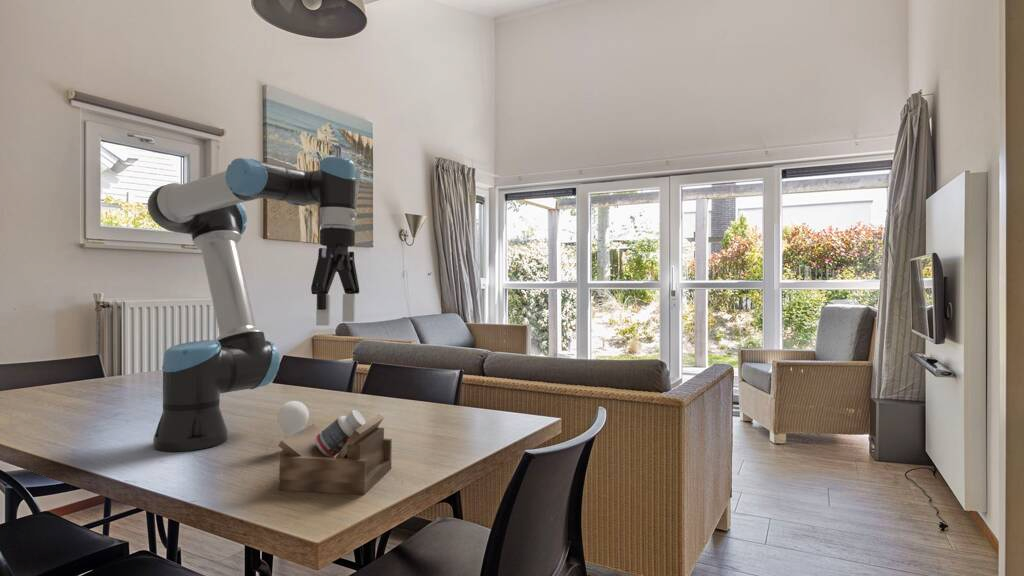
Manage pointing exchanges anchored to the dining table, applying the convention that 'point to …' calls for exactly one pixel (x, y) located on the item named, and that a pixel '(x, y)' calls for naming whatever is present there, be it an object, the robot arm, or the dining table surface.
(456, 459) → the dining table surface
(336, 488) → the wooden box with flaps
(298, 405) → the light bulb
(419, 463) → the dining table surface
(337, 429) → the pill bottle
